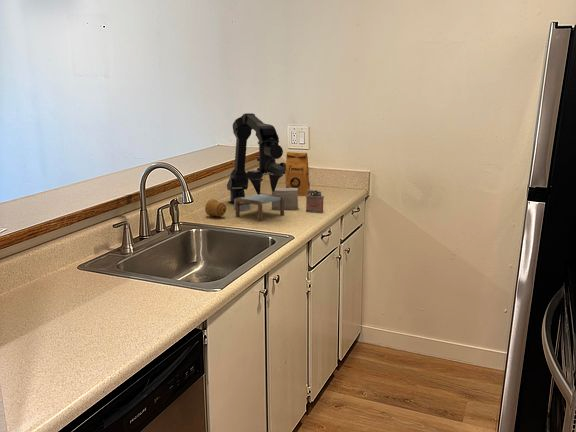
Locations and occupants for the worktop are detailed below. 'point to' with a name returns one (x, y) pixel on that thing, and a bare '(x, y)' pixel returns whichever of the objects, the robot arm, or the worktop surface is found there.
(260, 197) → the trapdoor
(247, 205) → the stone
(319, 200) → the lighter
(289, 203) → the grey block
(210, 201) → the ornamental finial
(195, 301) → the worktop surface
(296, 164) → the coffee package
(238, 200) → the stand
